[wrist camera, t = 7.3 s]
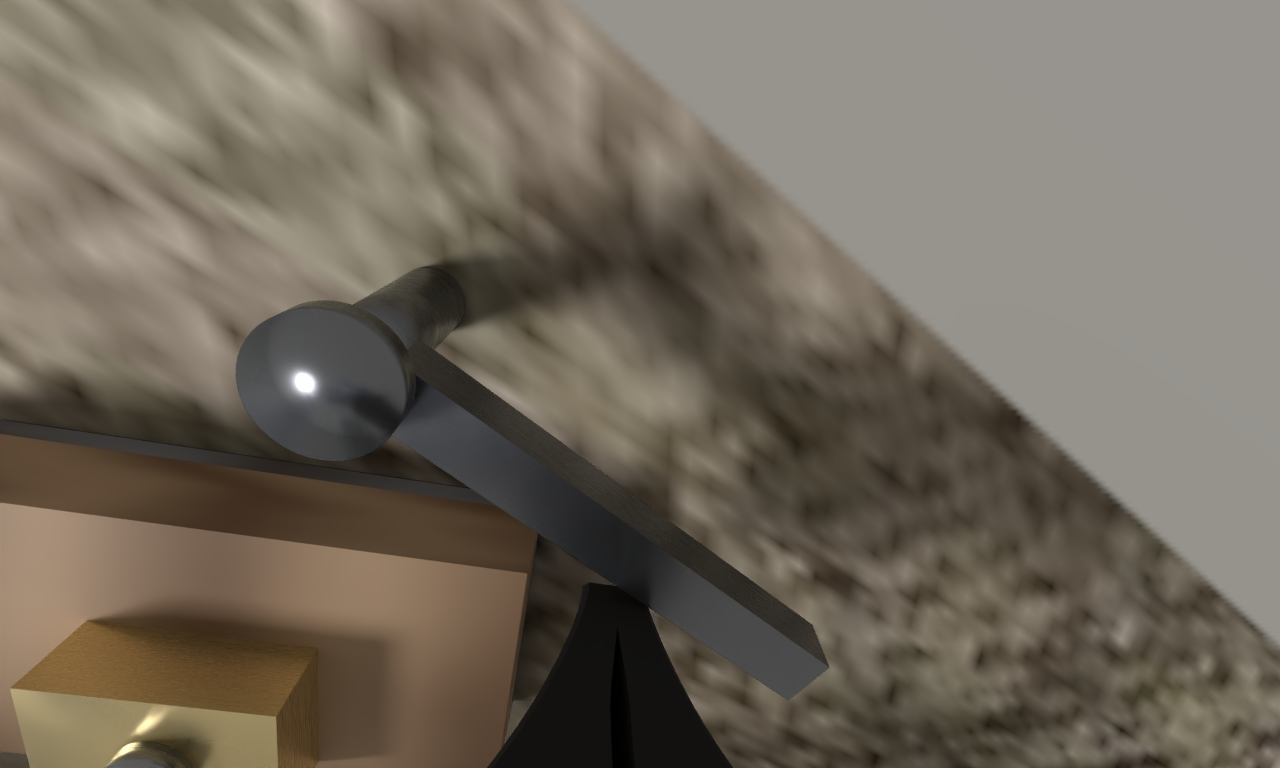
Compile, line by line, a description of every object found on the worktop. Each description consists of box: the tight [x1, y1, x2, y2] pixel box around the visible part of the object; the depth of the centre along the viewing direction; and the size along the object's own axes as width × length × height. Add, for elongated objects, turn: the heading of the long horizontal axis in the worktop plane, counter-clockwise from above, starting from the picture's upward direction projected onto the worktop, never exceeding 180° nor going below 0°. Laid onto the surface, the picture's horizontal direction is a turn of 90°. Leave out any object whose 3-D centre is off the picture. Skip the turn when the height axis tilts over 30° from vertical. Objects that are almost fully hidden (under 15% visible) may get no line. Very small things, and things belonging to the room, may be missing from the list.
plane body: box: [0, 420, 538, 768], centre depth 15 cm, size 15×8×3 cm, turn 79°
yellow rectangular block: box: [10, 621, 318, 768], centre depth 13 cm, size 5×4×2 cm
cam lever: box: [236, 267, 830, 700], centre depth 13 cm, size 2×12×6 cm, turn 49°
